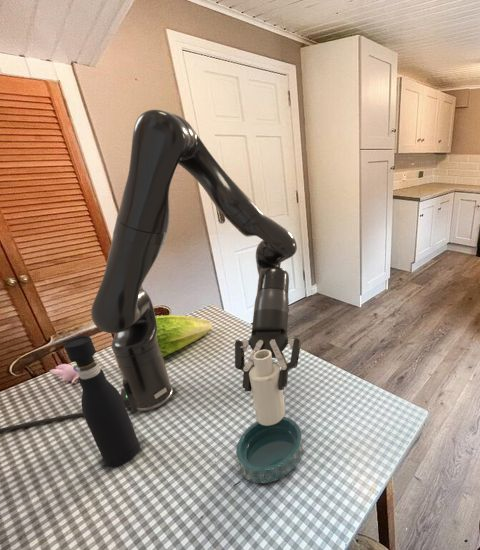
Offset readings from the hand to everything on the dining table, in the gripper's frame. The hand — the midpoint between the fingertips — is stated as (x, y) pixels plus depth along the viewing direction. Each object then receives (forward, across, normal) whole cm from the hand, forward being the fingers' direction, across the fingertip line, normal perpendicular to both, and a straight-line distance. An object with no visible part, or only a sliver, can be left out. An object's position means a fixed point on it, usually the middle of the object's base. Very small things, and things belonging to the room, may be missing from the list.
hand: (264, 390), depth 62 cm
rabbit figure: (-7, -64, +33) cm, 73 cm away
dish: (+13, 0, +12) cm, 18 cm away
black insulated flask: (+12, -34, +14) cm, 39 cm away
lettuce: (-19, -41, +45) cm, 64 cm away
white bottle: (+5, 0, +7) cm, 9 cm away
